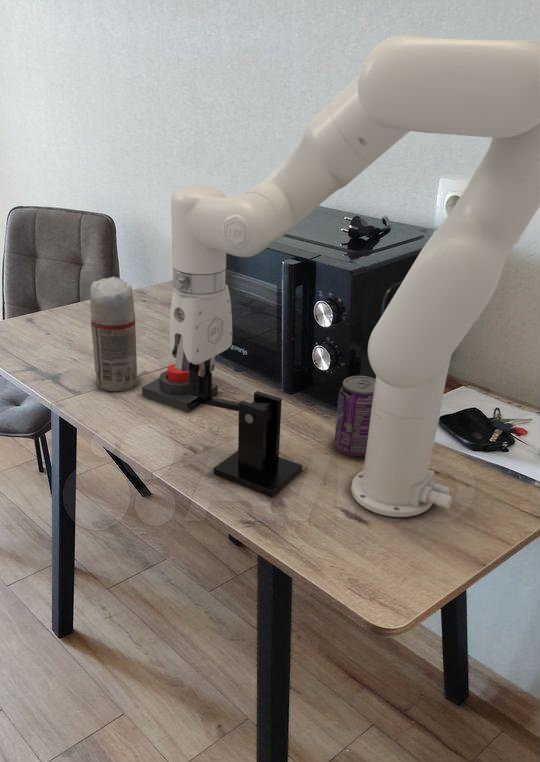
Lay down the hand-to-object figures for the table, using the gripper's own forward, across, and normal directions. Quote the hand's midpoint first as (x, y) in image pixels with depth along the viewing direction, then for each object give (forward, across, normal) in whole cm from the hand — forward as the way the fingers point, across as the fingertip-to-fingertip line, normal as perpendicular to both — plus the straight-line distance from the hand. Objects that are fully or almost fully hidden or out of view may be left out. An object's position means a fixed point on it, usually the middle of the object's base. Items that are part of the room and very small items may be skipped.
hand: (200, 394), depth 110 cm
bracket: (+10, 0, -11) cm, 15 cm away
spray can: (+11, +11, +29) cm, 33 cm away
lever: (+1, 0, -6) cm, 6 cm away
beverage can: (+10, +16, -20) cm, 28 cm away
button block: (+11, +14, +16) cm, 24 cm away
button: (+7, +14, +16) cm, 22 cm away
